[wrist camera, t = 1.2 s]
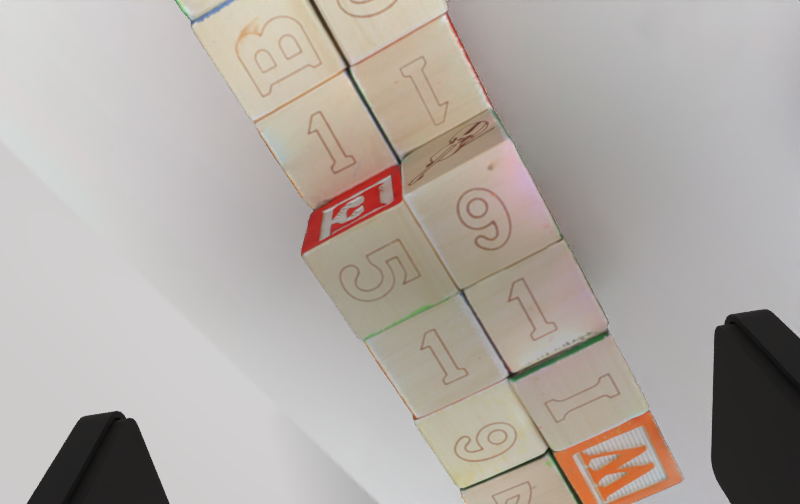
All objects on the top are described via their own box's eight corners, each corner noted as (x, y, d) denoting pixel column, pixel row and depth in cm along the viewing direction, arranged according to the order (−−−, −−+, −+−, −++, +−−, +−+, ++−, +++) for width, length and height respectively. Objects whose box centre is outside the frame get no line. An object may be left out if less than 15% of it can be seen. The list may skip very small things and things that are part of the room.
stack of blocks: (203, -81, 25) (57, -104, 14) (351, -176, 24) (319, -282, 13) (463, 355, 33) (501, 565, 22) (584, 299, 32) (691, 490, 21)
